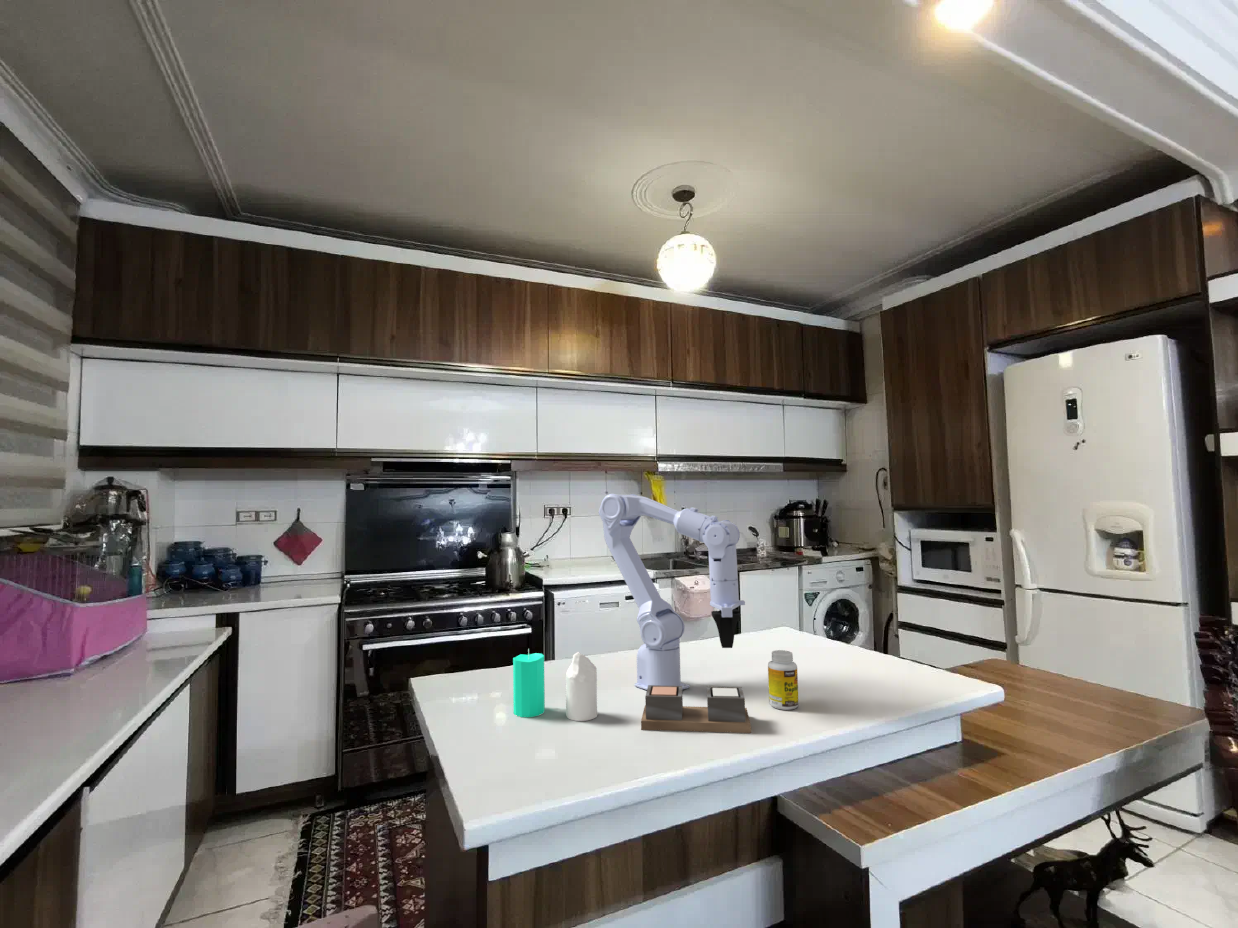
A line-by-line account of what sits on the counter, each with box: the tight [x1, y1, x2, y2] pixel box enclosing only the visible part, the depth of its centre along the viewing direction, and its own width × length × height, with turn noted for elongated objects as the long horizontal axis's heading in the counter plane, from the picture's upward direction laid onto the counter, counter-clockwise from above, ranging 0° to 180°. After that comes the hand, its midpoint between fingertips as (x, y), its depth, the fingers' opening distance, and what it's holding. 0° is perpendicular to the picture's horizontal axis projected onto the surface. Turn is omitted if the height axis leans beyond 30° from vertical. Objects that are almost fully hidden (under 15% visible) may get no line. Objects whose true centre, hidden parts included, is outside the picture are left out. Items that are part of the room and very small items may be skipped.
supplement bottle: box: [767, 649, 799, 711], centre depth 111 cm, size 6×6×10 cm
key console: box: [640, 685, 752, 734], centre depth 103 cm, size 8×19×6 cm, turn 82°
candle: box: [512, 648, 546, 718], centre depth 111 cm, size 6×6×12 cm
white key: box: [712, 688, 738, 697], centre depth 103 cm, size 4×4×2 cm
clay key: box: [651, 687, 677, 696], centre depth 104 cm, size 4×4×2 cm
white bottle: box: [565, 651, 598, 722], centre depth 108 cm, size 6×12×6 cm
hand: (727, 647), depth 116 cm, fingers closed
